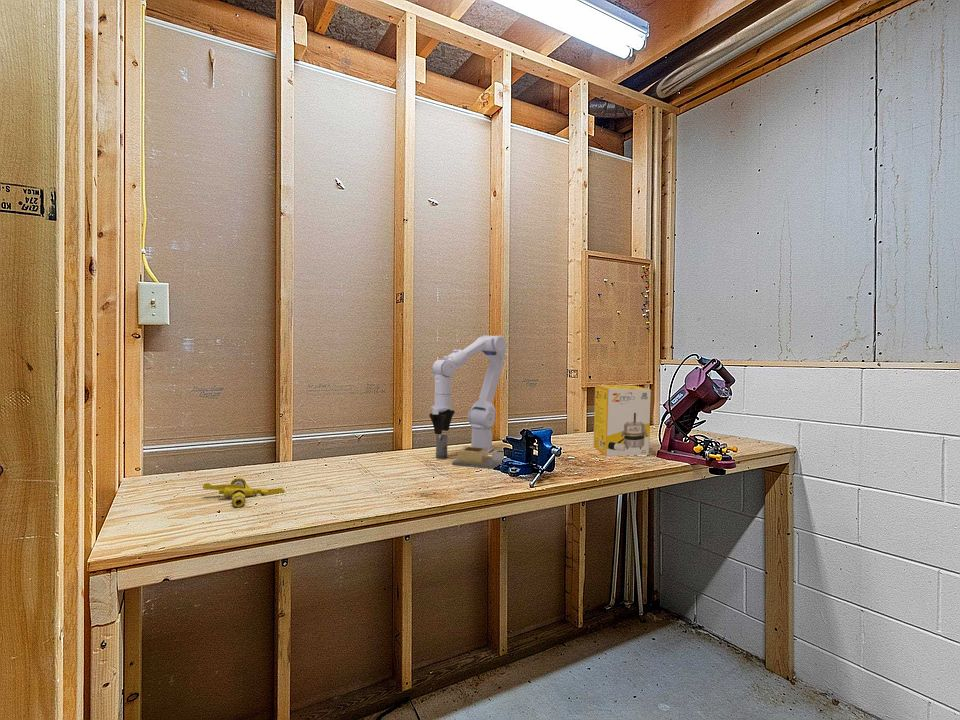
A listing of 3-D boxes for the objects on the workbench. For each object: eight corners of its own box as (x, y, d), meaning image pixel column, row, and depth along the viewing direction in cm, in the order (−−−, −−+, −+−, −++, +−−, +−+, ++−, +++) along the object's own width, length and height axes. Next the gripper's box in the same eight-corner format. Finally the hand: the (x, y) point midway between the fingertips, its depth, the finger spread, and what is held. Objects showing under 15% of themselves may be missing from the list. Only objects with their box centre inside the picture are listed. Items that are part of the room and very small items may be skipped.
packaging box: (632, 447, 202) (634, 385, 201) (648, 456, 186) (651, 389, 185) (593, 446, 201) (595, 384, 200) (606, 456, 185) (608, 388, 184)
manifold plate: (462, 457, 178) (463, 444, 178) (512, 461, 173) (512, 448, 173) (452, 465, 166) (452, 451, 166) (505, 469, 162) (505, 456, 162)
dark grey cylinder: (438, 455, 179) (438, 433, 179) (448, 456, 178) (449, 434, 178) (434, 458, 176) (434, 435, 175) (445, 459, 175) (445, 436, 174)
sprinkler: (201, 493, 117) (204, 475, 130) (198, 510, 117) (202, 491, 130) (289, 495, 125) (283, 478, 139) (286, 510, 125) (281, 492, 139)
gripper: (439, 391, 184) (438, 428, 185) (424, 395, 170) (423, 435, 171) (457, 392, 182) (456, 429, 183) (444, 396, 168) (443, 436, 169)
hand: (441, 432), depth 177 cm, fingers open, 7 cm apart
